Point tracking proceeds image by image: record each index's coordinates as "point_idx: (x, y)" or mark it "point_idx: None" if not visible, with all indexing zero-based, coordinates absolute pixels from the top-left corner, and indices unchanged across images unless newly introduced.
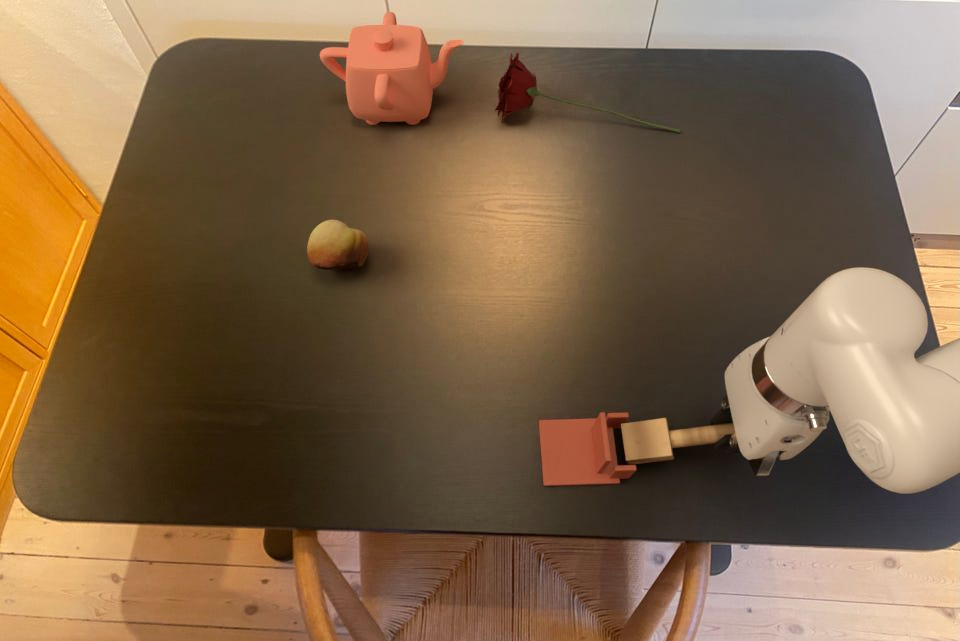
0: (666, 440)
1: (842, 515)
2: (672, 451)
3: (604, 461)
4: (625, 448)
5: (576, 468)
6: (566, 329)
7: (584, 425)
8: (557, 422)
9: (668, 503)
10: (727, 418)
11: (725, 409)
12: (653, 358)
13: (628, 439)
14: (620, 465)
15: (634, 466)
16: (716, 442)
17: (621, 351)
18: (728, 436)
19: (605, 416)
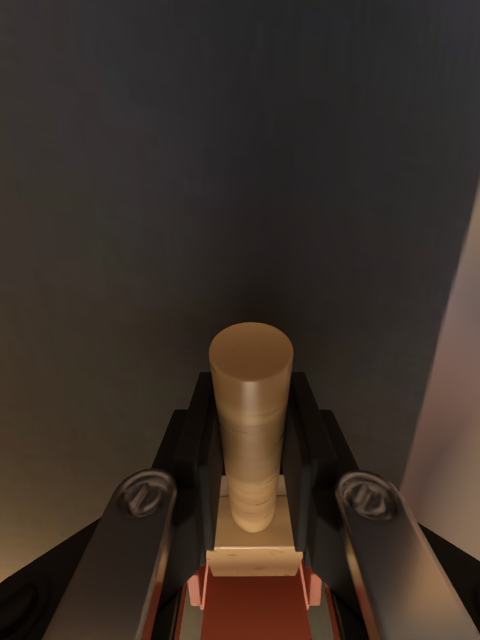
0: (264, 551)
1: (457, 13)
2: (285, 512)
3: None
4: (269, 575)
5: None
6: (21, 557)
7: None
8: (203, 590)
9: (357, 439)
10: (215, 503)
11: (185, 590)
12: (49, 427)
13: (250, 573)
14: (309, 597)
15: (314, 577)
16: (281, 457)
17: (46, 481)
18: (309, 558)
19: None
